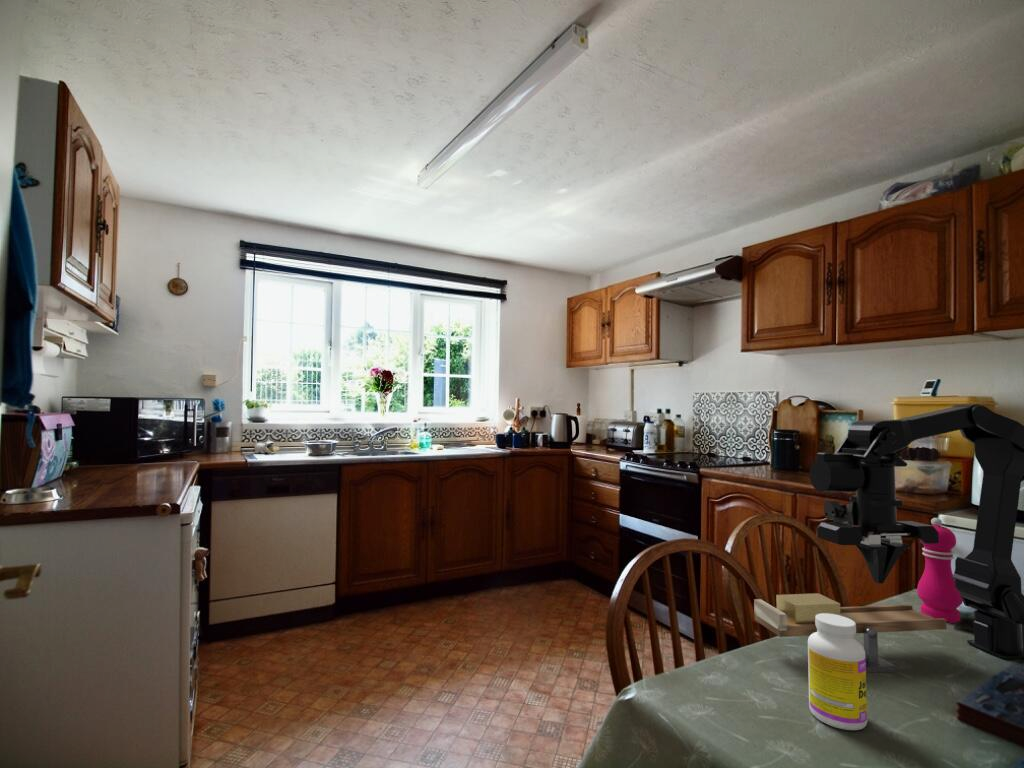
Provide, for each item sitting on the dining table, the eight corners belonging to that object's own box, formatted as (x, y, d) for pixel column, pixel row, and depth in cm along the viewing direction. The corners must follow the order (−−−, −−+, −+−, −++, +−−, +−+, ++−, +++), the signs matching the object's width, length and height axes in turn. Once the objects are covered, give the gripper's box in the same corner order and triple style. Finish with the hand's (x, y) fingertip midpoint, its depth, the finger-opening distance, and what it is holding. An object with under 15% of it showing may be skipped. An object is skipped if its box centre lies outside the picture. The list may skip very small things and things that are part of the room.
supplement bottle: (869, 739, 65) (865, 633, 65) (808, 722, 68) (805, 622, 69) (866, 713, 70) (863, 616, 71) (810, 699, 74) (807, 607, 75)
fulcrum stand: (839, 639, 94) (838, 604, 95) (895, 671, 82) (894, 631, 83) (809, 640, 94) (808, 605, 94) (861, 672, 82) (860, 632, 82)
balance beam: (909, 613, 93) (908, 593, 94) (946, 629, 87) (945, 607, 87) (754, 619, 90) (754, 599, 90) (780, 637, 83) (779, 614, 83)
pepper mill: (946, 611, 109) (942, 515, 110) (973, 624, 102) (968, 521, 103) (909, 609, 110) (906, 514, 111) (933, 623, 102) (929, 520, 104)
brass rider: (819, 613, 90) (818, 593, 91) (840, 625, 85) (840, 603, 86) (776, 615, 89) (776, 594, 90) (796, 627, 84) (795, 605, 85)
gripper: (885, 485, 100) (888, 568, 99) (795, 486, 97) (797, 570, 96) (939, 494, 88) (943, 587, 87) (839, 495, 86) (842, 590, 85)
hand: (878, 583), depth 89 cm, fingers closed
